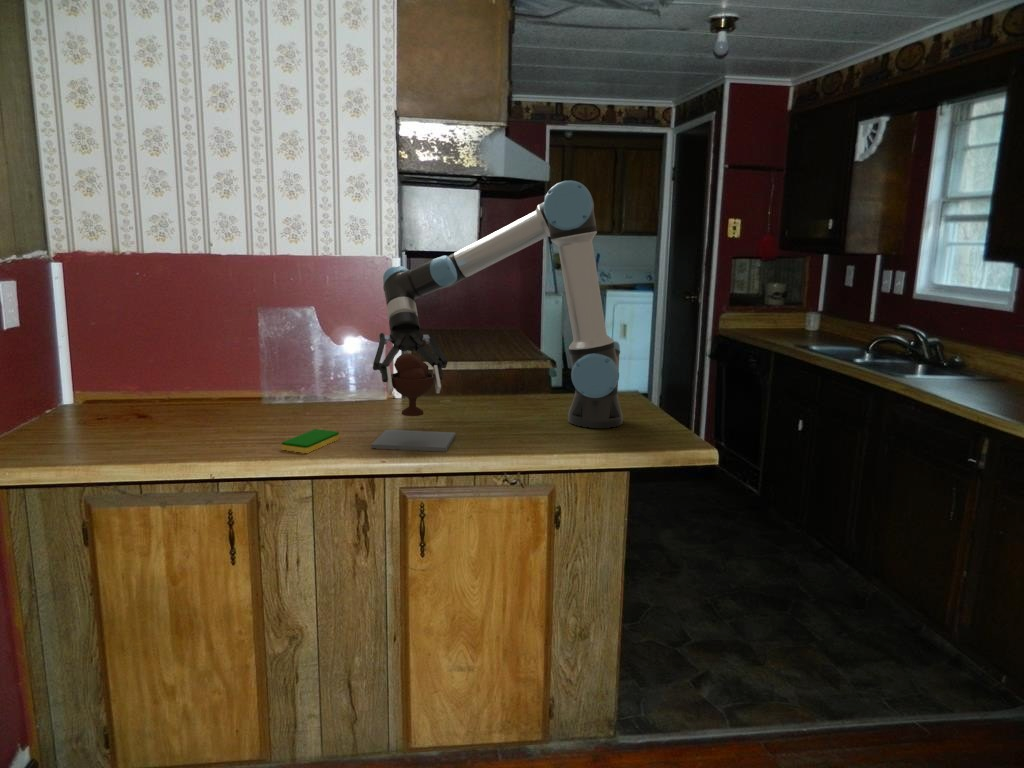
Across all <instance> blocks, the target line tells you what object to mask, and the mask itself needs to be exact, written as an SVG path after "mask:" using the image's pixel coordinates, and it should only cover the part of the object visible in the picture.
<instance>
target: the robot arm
mask: <svg viewBox="0 0 1024 768" xmlns="http://www.w3.org/2000/svg"><path fill="white" fill-rule="evenodd" d="M594 209H595V202H594V198H593V197H592V194H591V192H590V191H589V189H588V187H586V186H585V184H583V183H581V182H580V181H577V180H572V179H570V180H563V181H560V182H557V183H556V184H554V185H553V186H552V187H551V188H550V189H549V190H548V191H547V193H546V195H545V197H544V200H543V202H541V203H539V204H537V206H536V208H535V210H534V211H532V212H530V213H528V214H527V215H525V216H523V217H521V218H518V219H516V220H515V221H513V222H511V223H509V224H507V225H505V226H503V227H501V228H500V229H498V230H496V231H493V232H492V233H490V234H488V235H486V236H484V237H482V238H480V239H479V240H476V241H475V242H473V243H471V244H468V245H467V246H465V247H463V248H461V249H459V250H457V251H455V252H454V253H451V254H450V255H441V256H439V257H436V258H433V259H431V260H429V261H426V262H424V263H423V264H421V265H419V266H417V267H416V266H415V267H414V268H411V269H408V268H407V267H405V266H402V265H401V266H400V265H399V266H392V267H389V268H388V269H386V270H385V272H384V273H383V276H382V280H383V282H382V283H383V285H382V286H383V287H382V288H383V292H384V298H385V303H386V309H387V310H386V312H387V318H388V319H387V320H388V324H389V331H390V333H389V334H388V335H387V334H385V333H384V332H380V333H379V336H378V347H377V350H376V353H375V356H374V359H373V364H372V365H373V366H372V370H373V371H379V373H380V375H381V381H382V383H386V387H387V393H388V396H392V395H393V392H394V391H393V390H394V388H393V386H392V379H391V374H392V372H391V367H390V364H391V363H392V361H394V359H395V357H396V356H397V355H398V353H399V351H401V352H406V351H410V352H416V354H418V355H420V356H422V358H423V359H424V360H425V361H426V362H427V363H428V365H430V366H431V367H432V374H434V382H433V384H434V388H435V393H436V394H440V392H441V389H442V384H441V381H442V380H443V378H444V377H443V376H444V374H443V369H446V368H447V365H448V363H449V361H448V359H447V356H446V355H445V354H444V352H443V350H442V349H441V347H440V345H439V344H438V342H437V340H436V339H435V333H434V332H429V334H423V332H422V330H421V326H420V320H419V314H418V309H417V303H416V299H419V298H421V297H423V296H425V295H428V294H430V293H433V292H436V291H438V290H442V289H445V288H451V287H453V286H456V284H457V283H459V282H461V281H463V280H465V279H466V278H468V277H471V276H473V275H475V274H477V273H479V272H480V271H482V270H484V269H486V268H488V267H491V266H492V265H494V264H496V263H499V262H500V261H502V260H504V259H506V258H508V257H509V256H512V255H514V254H516V253H518V252H520V251H521V250H524V249H526V248H528V247H529V246H533V245H534V244H536V243H537V242H539V241H541V240H543V239H546V238H548V237H549V238H550V242H552V243H553V244H554V245H555V246H557V248H558V253H559V254H558V255H559V259H560V260H559V261H560V267H561V274H562V277H563V285H564V291H565V297H566V304H567V310H568V316H569V321H570V322H569V323H570V327H571V333H572V342H571V343H570V344H569V346H568V352H569V357H570V365H571V371H570V378H571V382H572V385H573V386H574V389H575V391H574V396H573V400H572V402H571V405H570V408H569V410H568V413H567V416H568V417H567V422H568V423H569V424H571V425H573V424H574V426H576V425H577V426H576V427H580V426H582V427H581V428H587V427H589V428H588V429H611V428H610V427H613V428H616V426H617V427H620V426H622V425H621V424H623V418H624V417H623V411H622V408H621V403H620V400H619V396H618V391H619V390H618V389H619V379H620V372H619V369H620V354H621V350H620V349H621V348H620V347H621V346H620V343H619V342H618V341H615V340H614V339H613V338H612V337H610V336H609V335H608V334H607V327H606V323H605V322H606V321H605V314H604V307H603V303H602V297H601V296H602V295H601V290H600V289H601V288H600V282H599V276H598V271H597V264H596V257H595V250H594V246H593V239H594V238H595V236H596V235H597V233H598V231H597V230H598V229H597V225H596V218H595V210H594ZM423 341H425V343H426V345H428V347H429V348H427V346H425V344H424V342H423ZM388 342H390V343H391V344H393V345H392V347H391V349H390V350H389V352H388V353H387V355H386V356H385V358H384V359H383V360H382V362H381V358H382V356H383V353H384V349H385V345H387V344H388ZM429 349H430V350H429ZM619 425H620V426H619Z"/></svg>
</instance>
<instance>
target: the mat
mask: <svg viewBox="0 0 1024 768" xmlns="http://www.w3.org/2000/svg"><path fill="white" fill-rule="evenodd" d="M455 437H456V432H454V431H453V432H452V431H449V432H447V431H429V430H428V431H426V430H425V431H423V430H407V429H406V430H403V429H399V430H398V429H385V430H384V431H383V432H382V433H381V434H380V435H379V436H378V437H377V438H376V439H375V440H374V441H373V442H372V443H371V445H370V448H371V449H373V448H376V449H377V450H395V449H399V451H418V450H419V451H420V452H421V451H423V452H444V453H445V452H447V451H448V449H449V447H450V445H452V442H453V441H454V439H455ZM376 449H375V450H376ZM419 451H418V452H419Z"/></svg>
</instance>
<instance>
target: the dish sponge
mask: <svg viewBox="0 0 1024 768" xmlns="http://www.w3.org/2000/svg"><path fill="white" fill-rule="evenodd" d="M336 440H337V441H339V440H340V432H339V431H335V430H325V429H316V428H314V429H312V430H310V431H307V432H305V433H301V434H300V435H297V436H294V437H292V438H289V439H286V440H284V441H282V442H281V449H282V450H287V451H286V452H288V451H294V452H293V453H296V452H303V453H302V454H304V453H308V454H310V453H309V452H311V451H313V450H315V449H317V450H319V449H318V448H320V447H322V446H324V447H326V446H328V445H330V444H329V443H331V444H332V442H333V443H335V442H337V441H336ZM334 441H335V442H334ZM327 444H328V445H327ZM325 445H326V446H325ZM322 448H323V447H322ZM320 449H321V448H320ZM315 451H316V450H315ZM313 452H314V451H313ZM311 453H312V452H311Z"/></svg>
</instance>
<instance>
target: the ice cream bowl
mask: <svg viewBox="0 0 1024 768" xmlns="http://www.w3.org/2000/svg"><path fill="white" fill-rule="evenodd" d="M393 366H394V368H395V370H396V372H395V373H391V379H392V386H393V390H395V391H396V392H397V393H399V394H400V395H401V396H404V397H406V398H408V406H407V407H405V409H402V411H401V416H405V417H418V416H423V415H424V410H423V409H421V408H420V407H417V399H418V398H419V397H421V396H423V395H425V394H427V393H428V392H429V391H430V390H431V388H432V387H433V385H434V374H433V373H431V372H429V364H427V363H426V362H425V361H423V360H422V359H419V357H418V356H416V355H415V354H413V353H402V354H400V355H399V356H398V357H397V358H396V360H395V362H394V364H393Z"/></svg>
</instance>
